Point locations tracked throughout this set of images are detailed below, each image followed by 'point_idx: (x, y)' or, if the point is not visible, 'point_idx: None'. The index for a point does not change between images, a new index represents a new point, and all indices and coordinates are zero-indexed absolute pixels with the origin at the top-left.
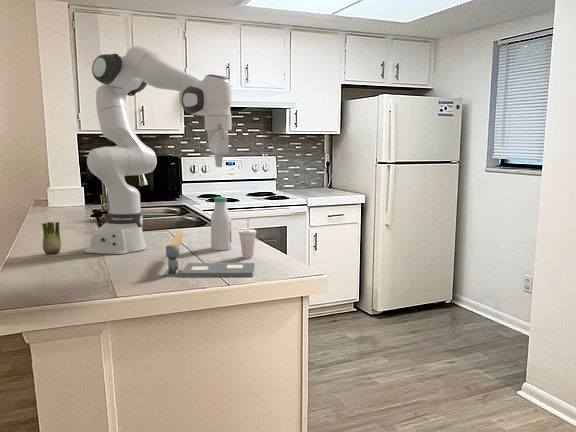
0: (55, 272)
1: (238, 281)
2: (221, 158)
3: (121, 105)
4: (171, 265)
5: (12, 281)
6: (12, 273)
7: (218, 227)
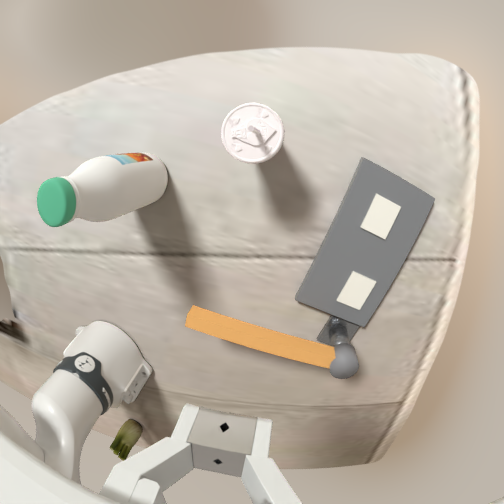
0: None
1: (445, 236)
2: (291, 495)
3: None
4: None
5: None
6: None
7: (135, 200)
